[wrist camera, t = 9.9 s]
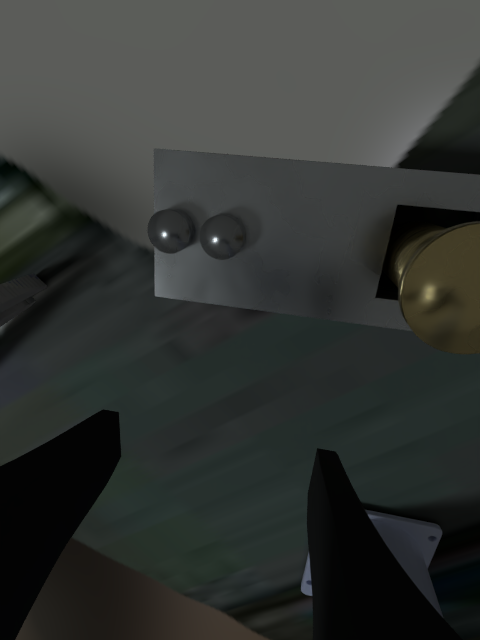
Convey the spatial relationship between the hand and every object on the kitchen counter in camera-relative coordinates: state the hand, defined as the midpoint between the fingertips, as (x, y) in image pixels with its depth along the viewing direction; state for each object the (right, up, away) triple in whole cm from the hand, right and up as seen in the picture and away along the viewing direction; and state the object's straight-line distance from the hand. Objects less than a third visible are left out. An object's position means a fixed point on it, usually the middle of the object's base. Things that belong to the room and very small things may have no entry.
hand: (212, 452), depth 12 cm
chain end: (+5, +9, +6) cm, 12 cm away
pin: (+10, +8, +5) cm, 14 cm away
